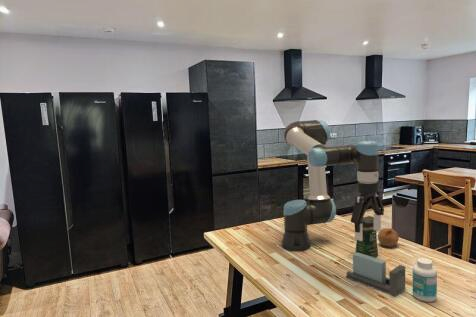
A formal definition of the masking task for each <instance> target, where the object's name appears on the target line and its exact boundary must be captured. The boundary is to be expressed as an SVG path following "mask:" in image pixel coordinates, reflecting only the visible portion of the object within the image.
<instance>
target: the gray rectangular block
mask: <svg viewBox="0 0 476 317" xmlns="http://www.w3.org/2000/svg"><path fill="white" fill-rule="evenodd" d="M386 262H387V260H384V259H380V258H377V257H371V256H368V255H364V254H361V253H358V252H357V253H356V252H354V253H352V272H353V273H355V274H358V275H361V276H364V277H366V278H369V279H372V280H375V281H377V282H380V283H383V284H386V277H387V272H386V270H387V268H386V267H387V263H386Z"/></svg>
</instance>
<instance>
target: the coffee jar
mask: <svg viewBox="0 0 476 317" xmlns="http://www.w3.org/2000/svg"><path fill="white" fill-rule="evenodd" d="M361 224H362V235H363V241H360V240H356V242H355V244H356V245H355V253H357V252H358V253H361V254H364V255H368V256H371V257H374V258H377V256H378V255H379V250H378V241H377V240H378V235H377V233H378V231H376V230H374V216H372V215H368V216H363V219H362V222H361Z"/></svg>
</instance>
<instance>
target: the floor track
mask: <svg viewBox="0 0 476 317" xmlns="http://www.w3.org/2000/svg"><path fill="white" fill-rule="evenodd" d="M388 273H389V274H388V276H389V277H387V276H386V284H383V283H380V282H377V281H375V280H372V279H369V278H366V277H364V276H361V275H358V274H355V273H353V271H350V270H348V271H347V270H346V276H345V278H346V279H349V280H351V281H354V282H357V283H358V284H360V285H361V284H362V285H364V286H366V287H369V288H372V289H373V290H374V289H375V290H377V291H380V292H382V293H385V294H387V295H390V296H393V297H396V296H398V295H399V294H401V293H402V292H403V291H405V289H406V266H404V265H402V264H399V265H397V266H396V267H395V268H393V269H392V270H390V271H389V272H388Z"/></svg>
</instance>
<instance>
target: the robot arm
mask: <svg viewBox="0 0 476 317" xmlns="http://www.w3.org/2000/svg"><path fill="white" fill-rule="evenodd" d="M330 137H331V131H330V128H329V125H328V124H327V122H326V121H324V120H323V119H321V120H319V119H314V120H312V119H311V120H299V121H294V122H290V123H289V124H288V125H287V126H286V127H285V129H284V131H283V138H284V141H285V142H286V143H287V144H288V145H290V147H291V146H292V147H295V148H297V149H298V150H300V151H301V152H302V153H304V154H305V155H306V156H307V157H306V158H307V159H306V160H307V171H308V183H309V185H308V186H309V196H308V197H307V201H306V200H304V199H294V200H289V201H287V202H286V203H285V204H284V205H283V221H284V222H283V224H284V226H283V228H284V232H283V236H282V240H281V247H282V248H283V249H284V250H287V251H293V252H302V251H306V250H309V249H310V248H312V240H311V239H310V235H309V233H308V232H309V231H308V226H311V225H319V224H320V225H321V224H326V223H331V222H333V221H334V219H335V217H336V214H337V207H336V204H335V202H334V200H332V199H331V197H330V195H328V191H327V180H326V178H327V175H326V167H327V166H337V165H338V166H339V165H351V164H353V165H356V171H357V172H356V175H357V176H356V178H357V179H356V180H357V181H358V182H357V192H358V193H360V196H355V198H354V205H353V210H352V212H351V219H350V223H352V224H354V240H356V241H357V240H360V241H363V235H362V224H361V222H362V219H363V217H365V213H366V211H367V209H369V207H371V209H372V211H373V213H374V214H373V216H372V217H374V230H376V231H377V232H380V231H381V230H382V216H384V214H385V209H384V205H383V202H382V198H381V191H379V186H380V185H379V182H378V181H379V176H380V174H379V158H380V156H379V153H380V151H379V144H378V142H377V141H374V140H362V141H358V142H357V144H356V145H355V144H343V145H337V146H336V145H335V146H327V142H328V141H329V140H330Z"/></svg>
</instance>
